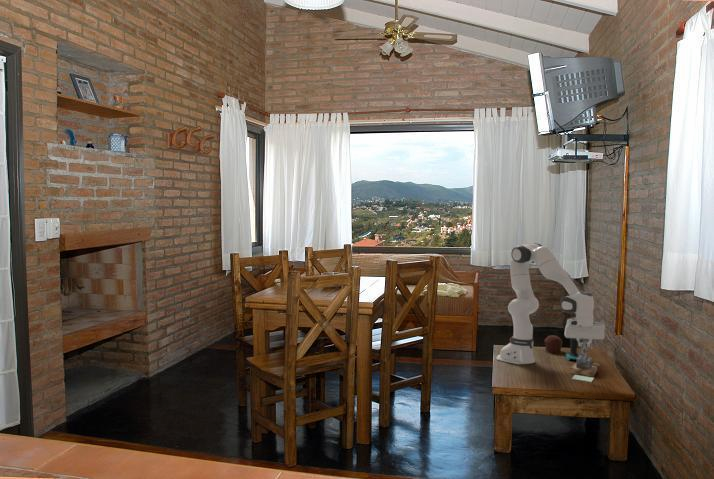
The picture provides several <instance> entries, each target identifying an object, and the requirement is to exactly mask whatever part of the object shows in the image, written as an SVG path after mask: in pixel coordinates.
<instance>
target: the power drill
mask: <svg viewBox="0 0 714 479" xmlns="http://www.w3.org/2000/svg"><path fill="white" fill-rule="evenodd" d="M571 318H573V317H569V318H567V319H566V322H565V324H566V325H567V324H568V323H567V320H568V319H571ZM566 325H565V326H566ZM569 344H570V345H569V347H570V349H569V350H570V351H569V352H566V353H565V354H564V355H565V356H564V357H565V358H566V359H567V361H570V360H576V359H577V358H578V357H579V356H581V353H578V347H579V343H578V341H577V338H570V341H569Z"/></svg>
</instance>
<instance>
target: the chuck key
mask: <svg viewBox="0 0 714 479" xmlns="http://www.w3.org/2000/svg"><path fill="white" fill-rule="evenodd" d="M581 343H582V347H581V351H580V352H581V353H580V355H581V362H583V363H586V357H588V355H587V354H588V352H587V349H588V347H587V343H588V342H581Z"/></svg>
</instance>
